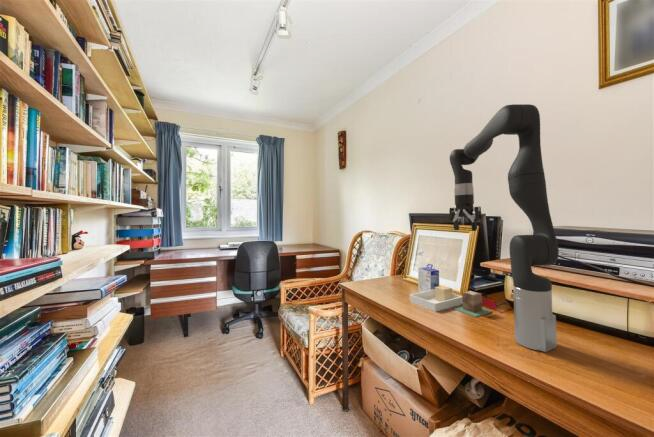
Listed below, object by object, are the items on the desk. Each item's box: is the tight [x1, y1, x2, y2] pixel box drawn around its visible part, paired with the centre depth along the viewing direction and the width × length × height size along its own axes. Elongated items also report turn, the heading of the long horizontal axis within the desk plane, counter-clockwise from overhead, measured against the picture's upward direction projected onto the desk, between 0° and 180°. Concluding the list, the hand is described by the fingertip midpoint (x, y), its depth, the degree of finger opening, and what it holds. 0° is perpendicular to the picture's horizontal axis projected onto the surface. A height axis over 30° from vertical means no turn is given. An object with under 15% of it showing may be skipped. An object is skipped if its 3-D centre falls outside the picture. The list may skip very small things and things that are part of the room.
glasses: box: [480, 292, 509, 311], centre depth 115 cm, size 14×16×5 cm
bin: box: [409, 289, 463, 313], centre depth 118 cm, size 15×17×4 cm
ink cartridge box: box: [417, 263, 440, 292], centre depth 133 cm, size 10×6×14 cm, turn 18°
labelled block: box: [461, 290, 483, 313], centre depth 107 cm, size 5×5×7 cm
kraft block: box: [435, 285, 453, 302], centre depth 120 cm, size 5×5×6 cm
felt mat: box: [452, 305, 493, 318], centre depth 107 cm, size 10×10×1 cm
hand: (465, 230), depth 117 cm, fingers open, 8 cm apart
